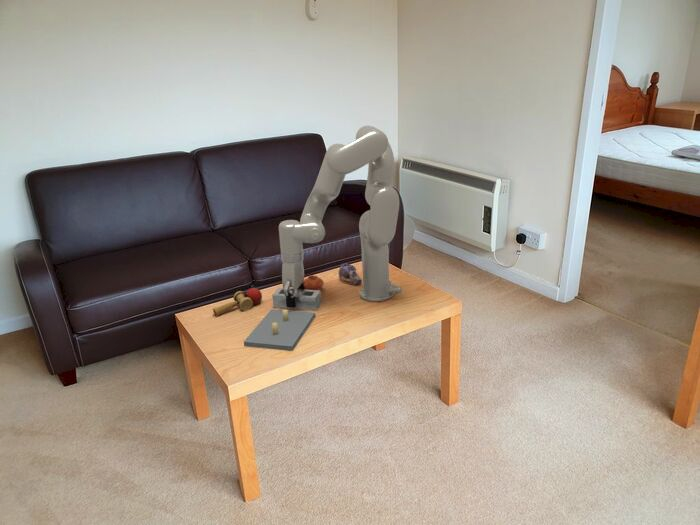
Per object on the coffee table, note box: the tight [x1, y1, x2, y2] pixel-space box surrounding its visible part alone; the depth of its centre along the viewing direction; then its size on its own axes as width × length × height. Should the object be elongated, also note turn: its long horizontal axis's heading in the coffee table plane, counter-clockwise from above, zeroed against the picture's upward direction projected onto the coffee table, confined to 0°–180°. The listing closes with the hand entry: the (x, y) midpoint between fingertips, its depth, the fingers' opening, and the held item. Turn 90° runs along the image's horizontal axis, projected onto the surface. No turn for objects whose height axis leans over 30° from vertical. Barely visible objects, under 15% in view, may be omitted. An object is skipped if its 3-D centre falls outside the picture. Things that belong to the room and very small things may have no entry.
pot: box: [304, 274, 325, 291], centre depth 194 cm, size 8×8×7 cm
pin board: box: [243, 308, 316, 352], centre depth 168 cm, size 16×22×5 cm
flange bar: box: [271, 287, 322, 312], centre depth 184 cm, size 16×6×5 cm, turn 75°
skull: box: [337, 262, 363, 286], centre depth 201 cm, size 12×8×6 cm, turn 25°
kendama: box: [212, 287, 263, 317], centre depth 184 cm, size 8×6×18 cm
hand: (296, 301), depth 184 cm, fingers open, 9 cm apart
